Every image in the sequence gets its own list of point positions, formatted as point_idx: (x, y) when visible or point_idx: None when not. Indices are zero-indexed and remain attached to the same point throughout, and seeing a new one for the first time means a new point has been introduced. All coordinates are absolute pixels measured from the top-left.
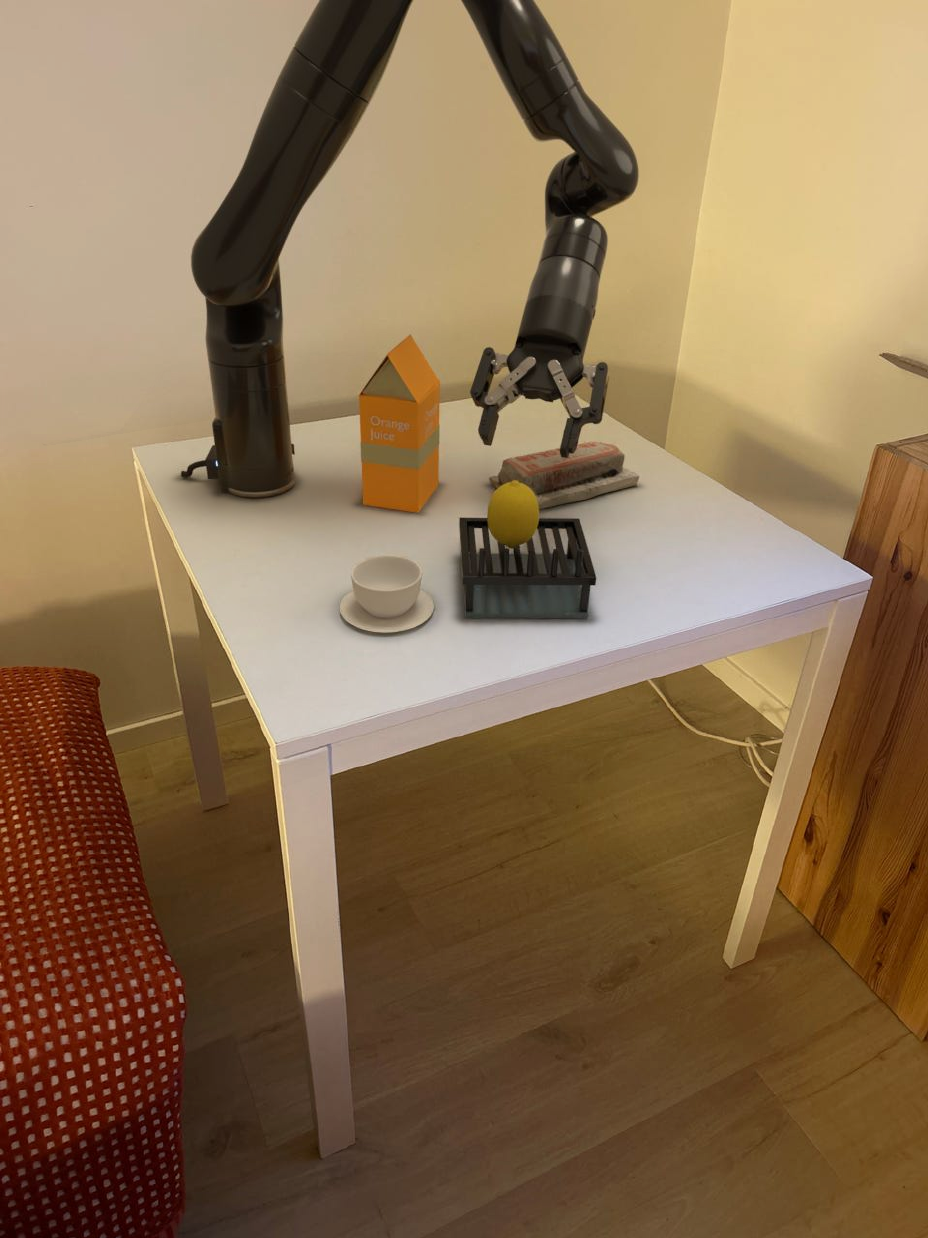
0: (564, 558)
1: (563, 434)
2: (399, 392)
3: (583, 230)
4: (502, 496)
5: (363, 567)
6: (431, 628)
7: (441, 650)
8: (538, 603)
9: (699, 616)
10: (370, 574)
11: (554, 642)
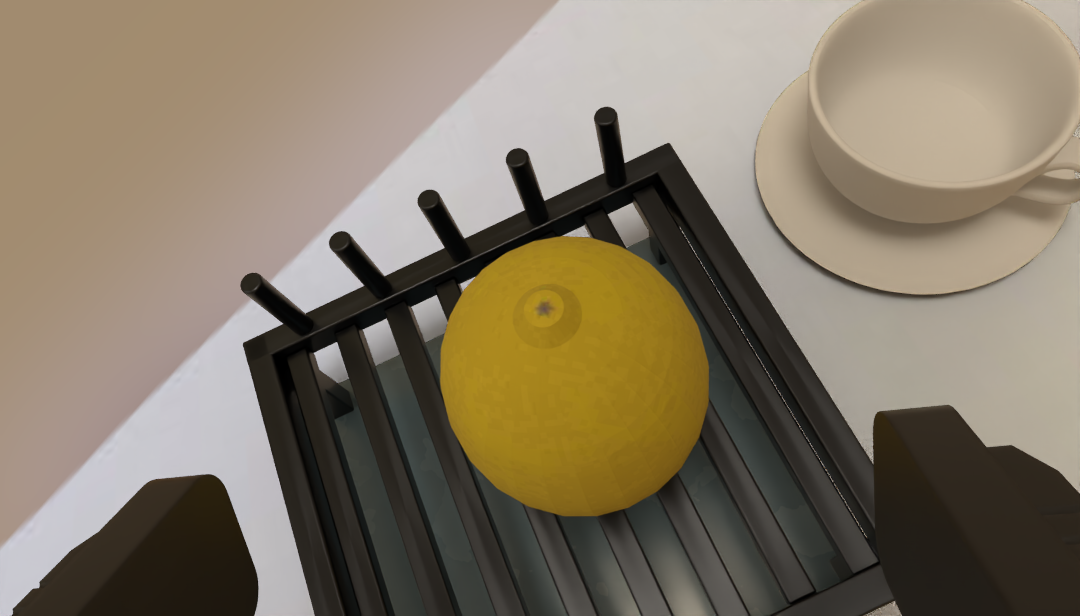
0: (378, 446)
1: (130, 558)
2: None
3: None
4: (593, 246)
5: (1059, 106)
6: (731, 154)
7: (657, 91)
8: None
9: (19, 558)
10: (1033, 149)
11: (397, 248)
